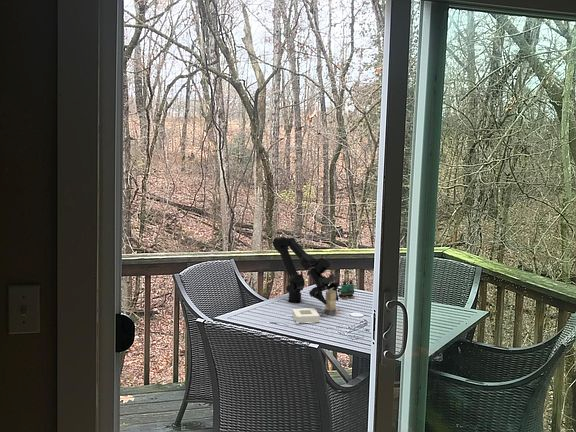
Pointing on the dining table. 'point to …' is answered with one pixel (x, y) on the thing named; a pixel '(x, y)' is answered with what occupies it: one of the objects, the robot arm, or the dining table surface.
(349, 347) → the dining table surface
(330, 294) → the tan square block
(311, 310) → the square ring frame
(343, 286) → the green boxy toy
